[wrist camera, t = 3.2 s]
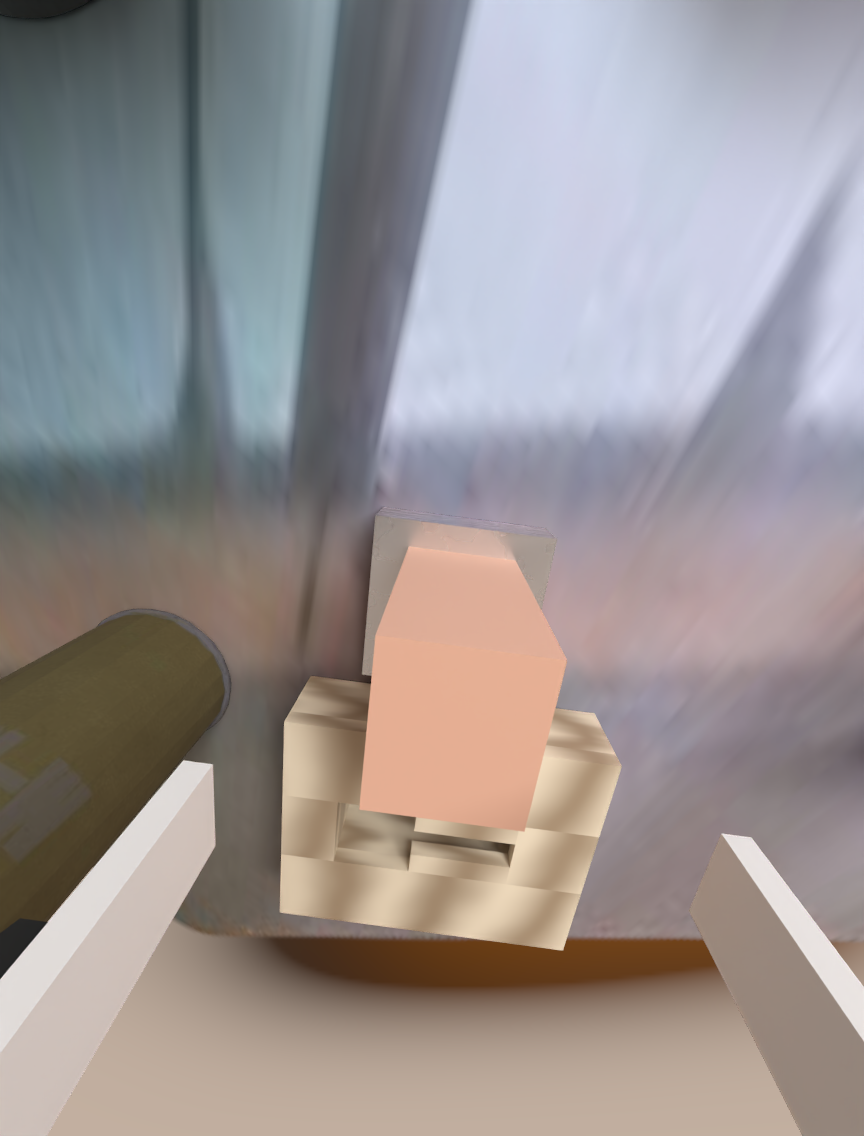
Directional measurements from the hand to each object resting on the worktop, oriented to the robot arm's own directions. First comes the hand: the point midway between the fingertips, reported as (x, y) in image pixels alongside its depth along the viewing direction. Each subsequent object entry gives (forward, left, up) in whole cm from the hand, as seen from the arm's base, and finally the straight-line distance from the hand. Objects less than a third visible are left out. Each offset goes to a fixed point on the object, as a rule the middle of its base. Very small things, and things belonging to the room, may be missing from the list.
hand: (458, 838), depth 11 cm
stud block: (0, 0, -17) cm, 17 cm away
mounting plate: (+1, -15, -17) cm, 23 cm away
